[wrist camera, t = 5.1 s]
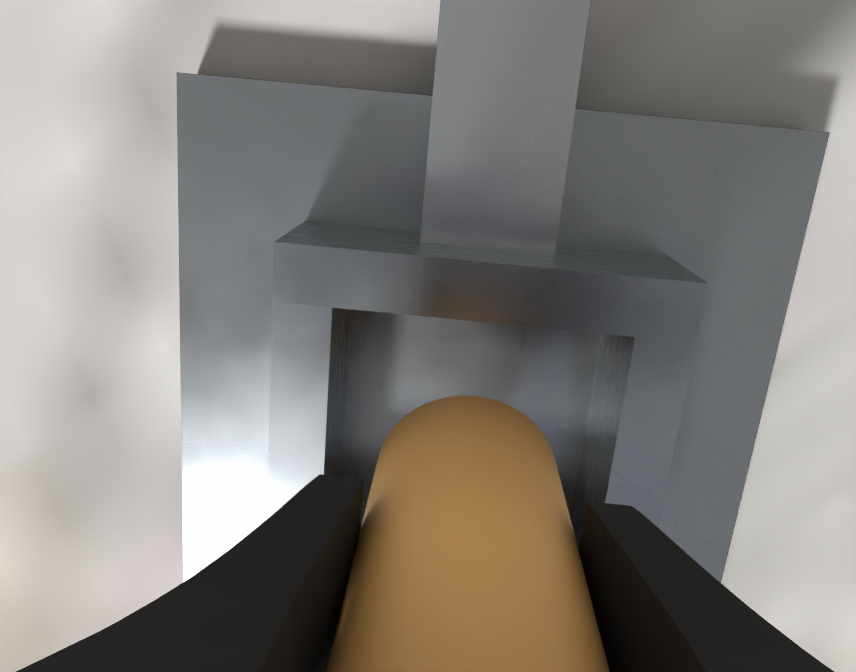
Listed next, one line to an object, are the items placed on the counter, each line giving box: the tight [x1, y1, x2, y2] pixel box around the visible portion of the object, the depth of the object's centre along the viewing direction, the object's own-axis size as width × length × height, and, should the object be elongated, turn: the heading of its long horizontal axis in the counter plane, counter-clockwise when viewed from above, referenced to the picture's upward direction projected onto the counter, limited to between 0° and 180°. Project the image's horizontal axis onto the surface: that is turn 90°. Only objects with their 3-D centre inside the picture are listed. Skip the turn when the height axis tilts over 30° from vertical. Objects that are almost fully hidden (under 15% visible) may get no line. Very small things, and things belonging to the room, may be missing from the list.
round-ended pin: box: [326, 395, 610, 672], centre depth 9 cm, size 3×3×7 cm
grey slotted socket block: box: [177, 0, 830, 583], centre depth 14 cm, size 12×14×4 cm
